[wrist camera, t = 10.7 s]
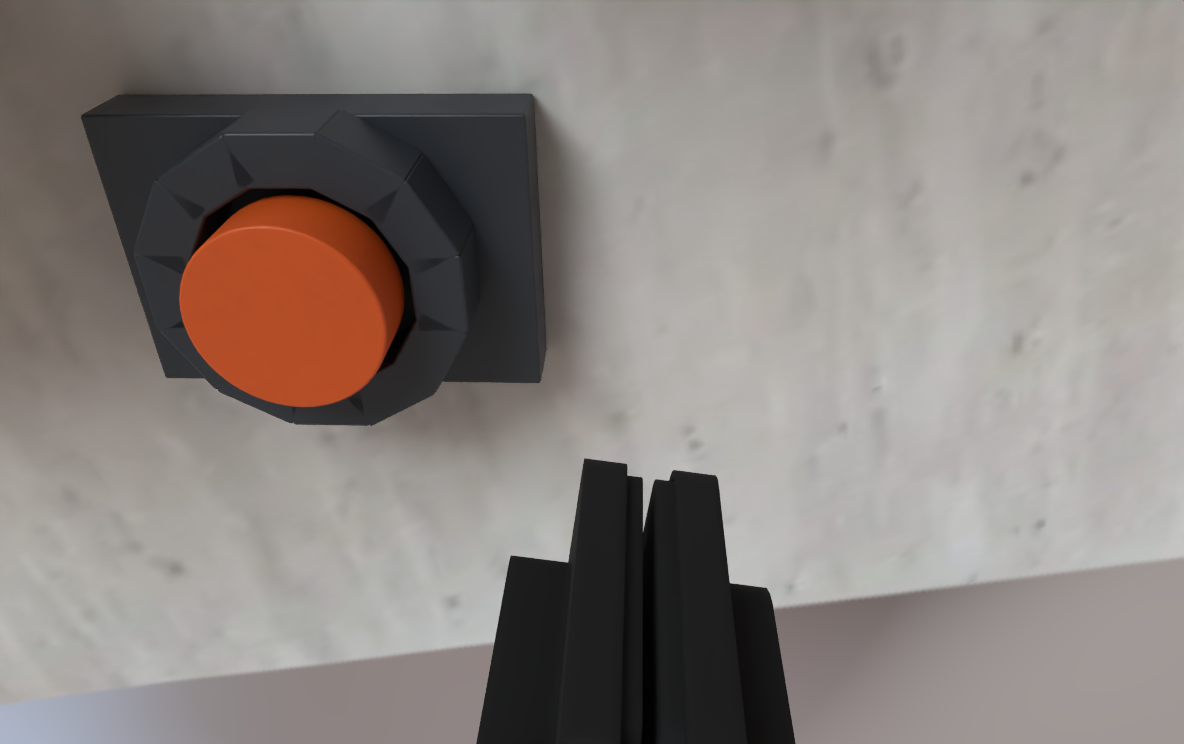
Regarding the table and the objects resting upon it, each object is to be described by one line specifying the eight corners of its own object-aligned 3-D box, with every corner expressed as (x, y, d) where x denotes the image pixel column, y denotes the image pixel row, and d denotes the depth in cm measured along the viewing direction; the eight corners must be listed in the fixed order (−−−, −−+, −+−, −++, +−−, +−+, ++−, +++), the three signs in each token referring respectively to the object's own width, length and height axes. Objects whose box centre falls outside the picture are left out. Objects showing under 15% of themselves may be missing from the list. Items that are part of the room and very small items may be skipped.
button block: (194, 350, 25) (133, 423, 22) (114, 87, 21) (29, 133, 18) (547, 354, 25) (533, 430, 22) (533, 86, 21) (515, 133, 18)
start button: (236, 366, 22) (206, 406, 20) (190, 193, 19) (152, 225, 18) (416, 368, 21) (399, 410, 20) (390, 193, 19) (369, 226, 17)
